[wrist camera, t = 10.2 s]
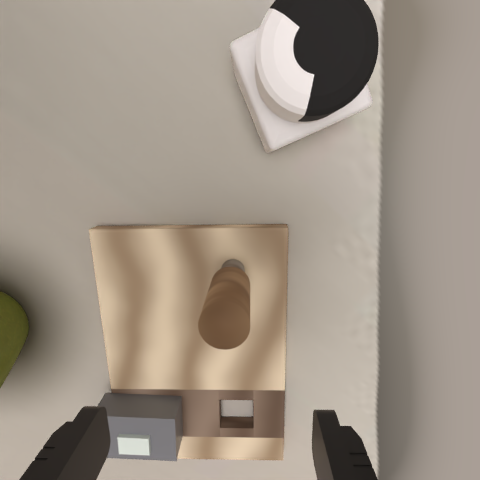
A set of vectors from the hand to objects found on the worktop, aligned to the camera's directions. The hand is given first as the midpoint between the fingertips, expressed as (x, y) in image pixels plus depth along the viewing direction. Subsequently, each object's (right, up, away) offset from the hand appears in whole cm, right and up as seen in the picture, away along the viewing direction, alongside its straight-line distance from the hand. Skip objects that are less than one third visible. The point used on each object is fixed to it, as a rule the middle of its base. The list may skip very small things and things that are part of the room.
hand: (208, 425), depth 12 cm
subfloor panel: (-3, -4, +21) cm, 21 cm away
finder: (-9, -11, +21) cm, 26 cm away
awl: (+1, +4, +17) cm, 17 cm away
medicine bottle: (+5, +19, +15) cm, 25 cm away
